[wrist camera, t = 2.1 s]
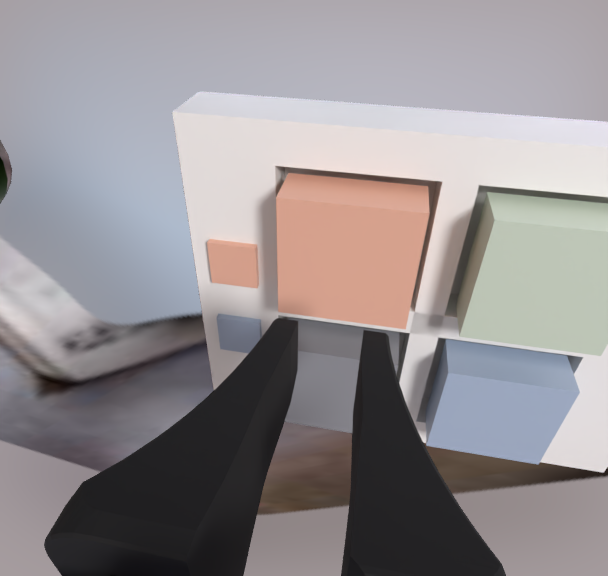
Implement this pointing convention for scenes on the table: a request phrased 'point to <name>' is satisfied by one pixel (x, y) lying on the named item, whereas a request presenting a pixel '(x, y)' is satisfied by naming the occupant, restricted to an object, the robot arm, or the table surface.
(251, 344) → the keypad
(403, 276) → the key terracotta
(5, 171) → the green soda can
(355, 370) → the key charcoal
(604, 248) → the key sage
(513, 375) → the key slate
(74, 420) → the table surface
